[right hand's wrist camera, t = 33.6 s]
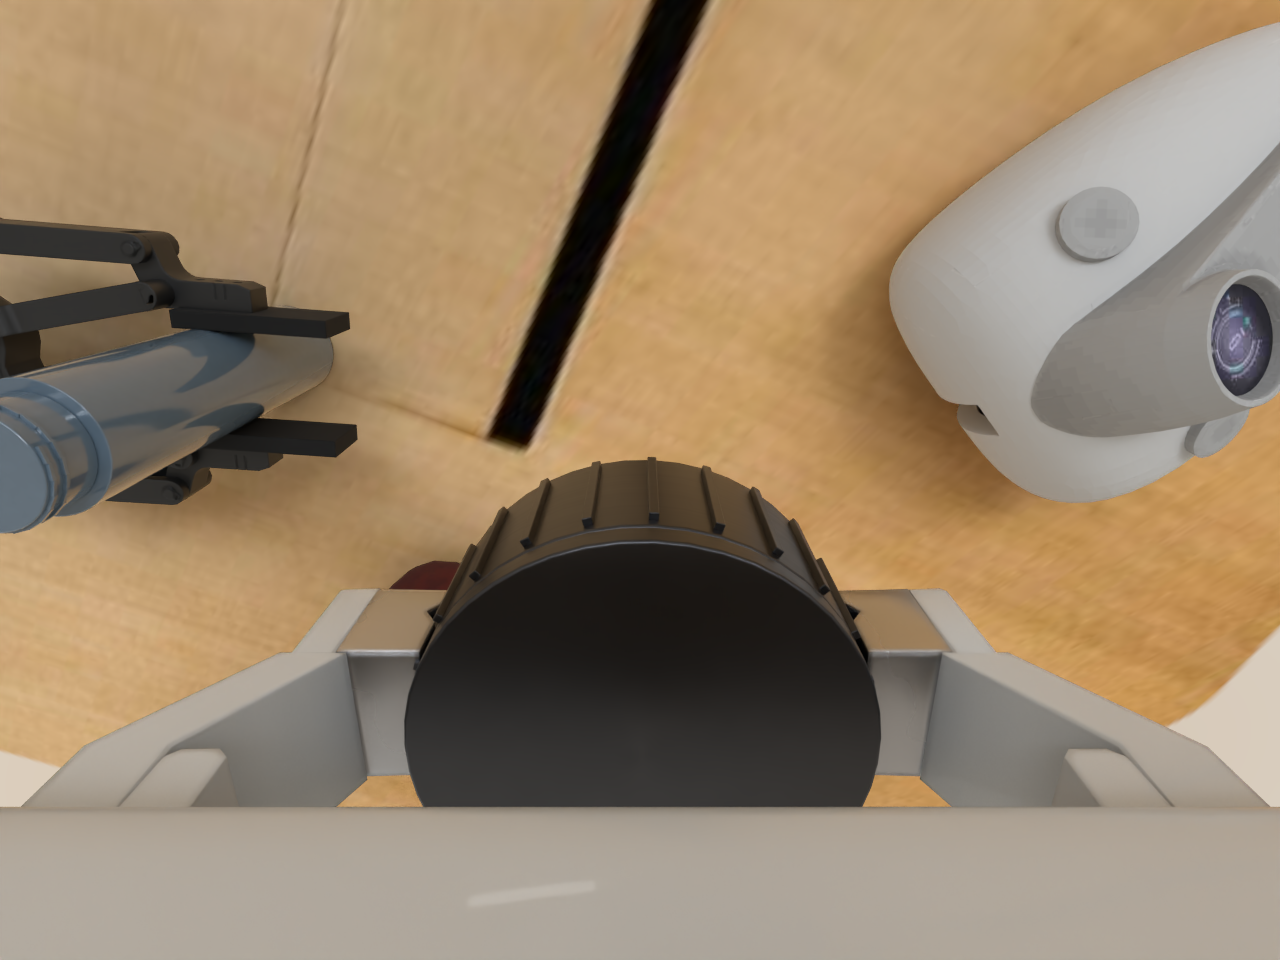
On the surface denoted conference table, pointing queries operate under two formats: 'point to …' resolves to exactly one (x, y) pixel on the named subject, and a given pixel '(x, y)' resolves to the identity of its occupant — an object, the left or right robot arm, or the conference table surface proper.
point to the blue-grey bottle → (137, 413)
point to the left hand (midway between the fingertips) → (341, 384)
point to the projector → (1113, 280)
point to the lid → (642, 655)
